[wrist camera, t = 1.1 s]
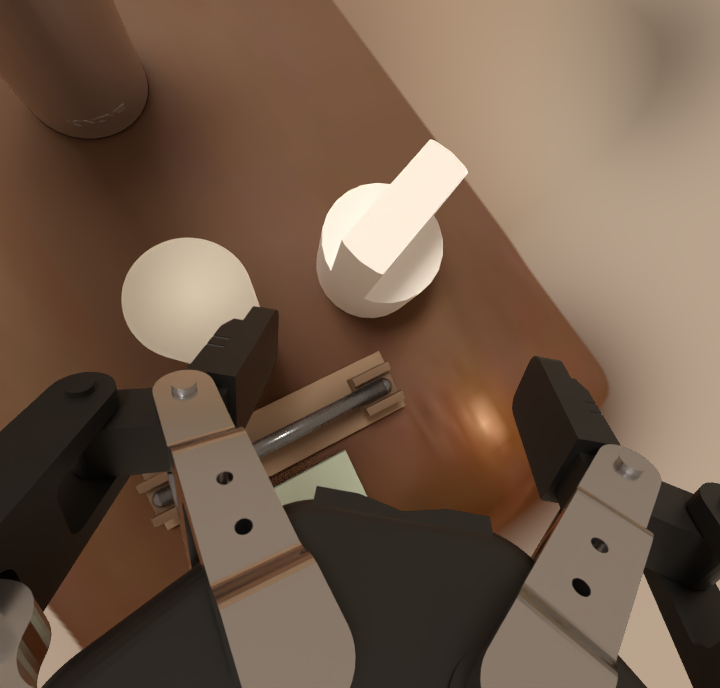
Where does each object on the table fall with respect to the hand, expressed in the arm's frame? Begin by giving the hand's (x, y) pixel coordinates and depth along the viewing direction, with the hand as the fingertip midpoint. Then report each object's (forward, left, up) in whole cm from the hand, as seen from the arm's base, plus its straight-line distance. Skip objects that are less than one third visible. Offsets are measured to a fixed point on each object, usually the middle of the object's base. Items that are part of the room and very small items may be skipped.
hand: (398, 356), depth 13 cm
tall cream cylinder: (-6, -6, -21) cm, 23 cm away
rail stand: (+2, -6, -21) cm, 22 cm away
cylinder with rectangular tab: (-7, +7, -21) cm, 24 cm away
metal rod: (+2, -6, -18) cm, 19 cm away
